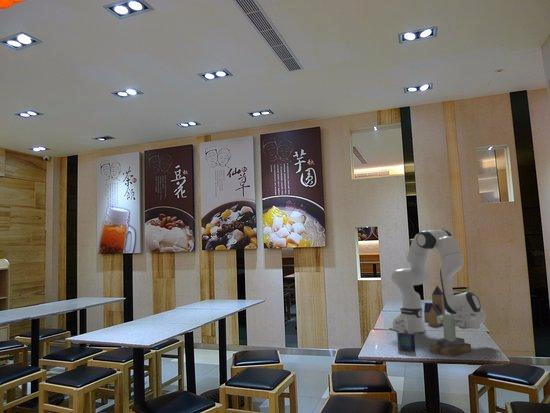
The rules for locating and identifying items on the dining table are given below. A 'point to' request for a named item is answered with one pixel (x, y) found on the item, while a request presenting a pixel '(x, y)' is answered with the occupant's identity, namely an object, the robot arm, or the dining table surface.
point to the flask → (406, 341)
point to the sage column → (449, 326)
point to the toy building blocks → (434, 308)
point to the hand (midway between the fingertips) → (448, 323)
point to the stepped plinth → (450, 347)
